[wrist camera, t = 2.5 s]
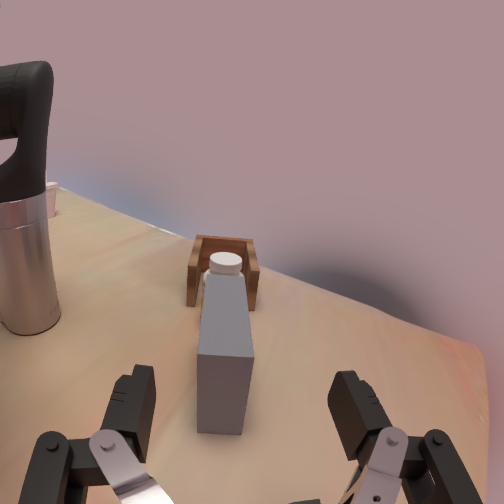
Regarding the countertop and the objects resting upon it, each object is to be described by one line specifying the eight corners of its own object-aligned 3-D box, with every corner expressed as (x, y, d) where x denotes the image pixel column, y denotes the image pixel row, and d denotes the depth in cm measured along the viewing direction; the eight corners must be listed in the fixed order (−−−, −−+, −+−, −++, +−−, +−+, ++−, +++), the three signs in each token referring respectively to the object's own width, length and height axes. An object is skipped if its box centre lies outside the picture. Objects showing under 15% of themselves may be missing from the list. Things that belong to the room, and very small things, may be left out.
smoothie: (38, 215, 75) (36, 169, 70) (57, 212, 79) (56, 166, 74) (40, 220, 71) (37, 171, 66) (60, 217, 75) (58, 169, 70)
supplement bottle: (199, 332, 39) (202, 265, 35) (201, 310, 44) (204, 248, 40) (241, 335, 39) (249, 268, 36) (238, 313, 44) (245, 251, 41)
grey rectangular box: (241, 434, 25) (254, 357, 21) (197, 432, 24) (197, 353, 20) (236, 349, 37) (244, 276, 33) (203, 347, 36) (206, 273, 33)
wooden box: (254, 310, 45) (259, 271, 43) (186, 306, 44) (187, 265, 42) (248, 272, 57) (252, 239, 55) (194, 268, 56) (196, 234, 54)
